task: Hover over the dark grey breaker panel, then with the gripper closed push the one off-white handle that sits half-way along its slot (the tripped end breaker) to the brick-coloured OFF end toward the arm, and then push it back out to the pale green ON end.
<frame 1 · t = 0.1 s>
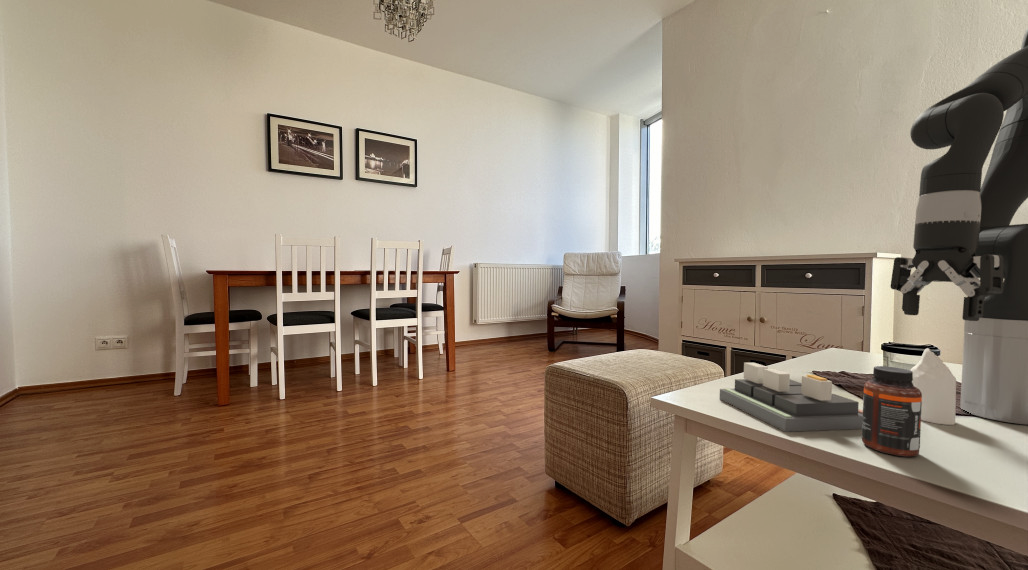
hand: (938, 317, 68), 17 cm above the table, tool pointing down, fingers open, 8 cm apart
white pointed block: (930, 419, 69), on the table
tripped handle: (816, 386, 66), point 6 cm above the table, slide at 3.0 cm
handle on 1: (755, 372, 76), point 6 cm above the table, slide at 6.0 cm
supplement bottle: (889, 450, 57), on the table
panel: (790, 412, 71), on the table
handle on 2: (776, 379, 71), point 6 cm above the table, slide at 6.0 cm
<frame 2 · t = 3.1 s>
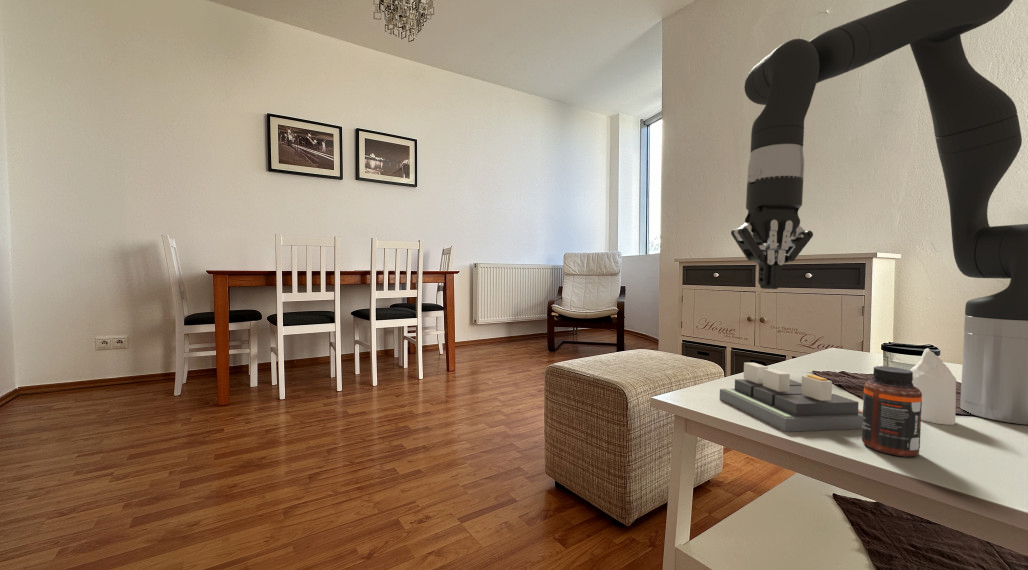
hand: (768, 288, 64), 22 cm above the table, tool pointing down, fingers closed
nothing on the table moved.
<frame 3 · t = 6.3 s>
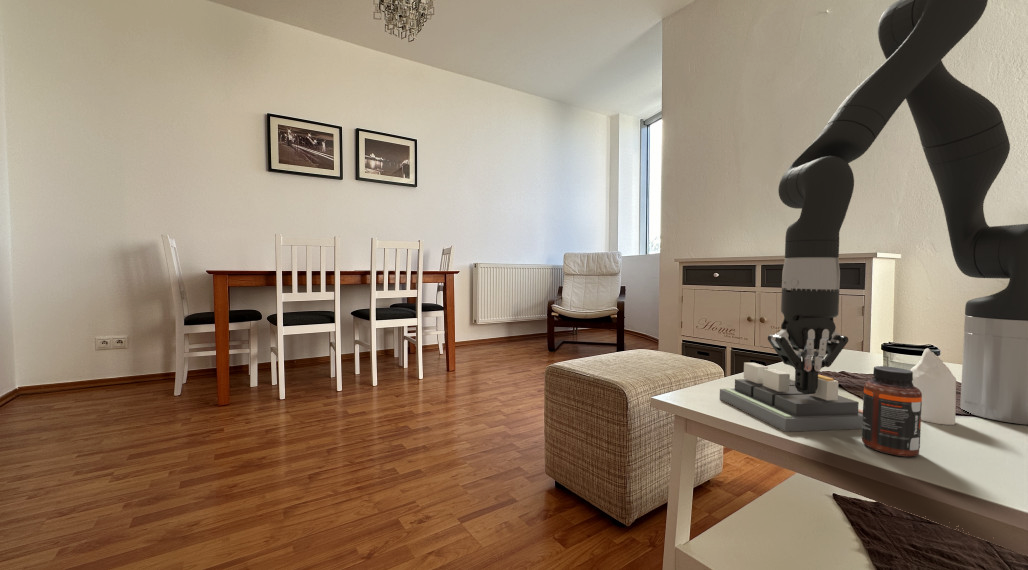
hand: (805, 392, 66), 5 cm above the table, tool pointing down, fingers closed
tripped handle: (822, 386, 66), point 6 cm above the table, slide at 1.8 cm, touching gripper
everything else where it was.
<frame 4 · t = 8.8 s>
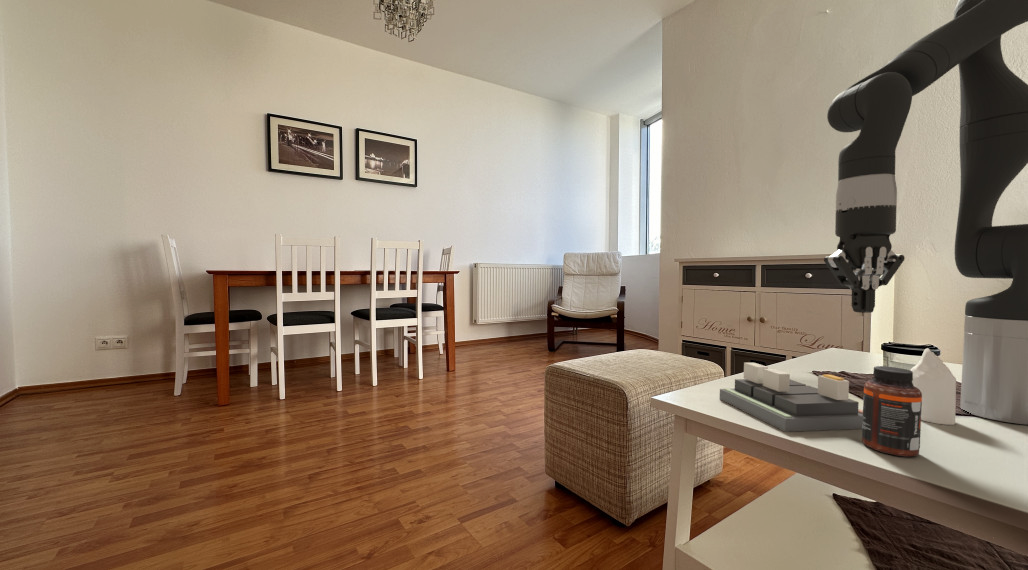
hand: (862, 312, 67), 18 cm above the table, tool pointing down, fingers closed
tripped handle: (832, 386, 66), point 6 cm above the table, slide at 0.0 cm
everything else where it was.
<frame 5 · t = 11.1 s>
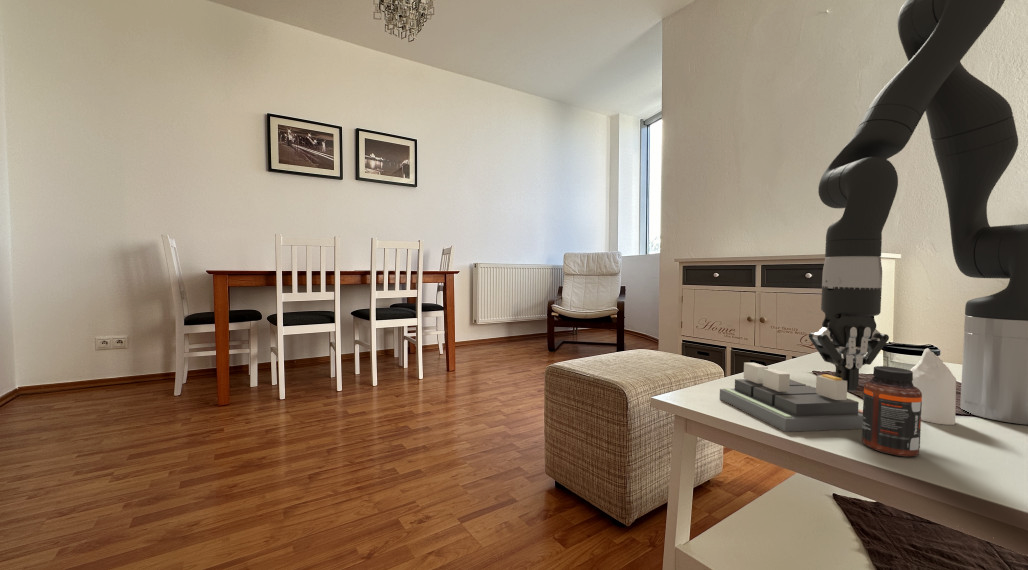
hand: (846, 389, 67), 5 cm above the table, tool pointing down, fingers closed
tripped handle: (831, 386, 66), point 6 cm above the table, slide at 0.3 cm, touching gripper
everything else where it was.
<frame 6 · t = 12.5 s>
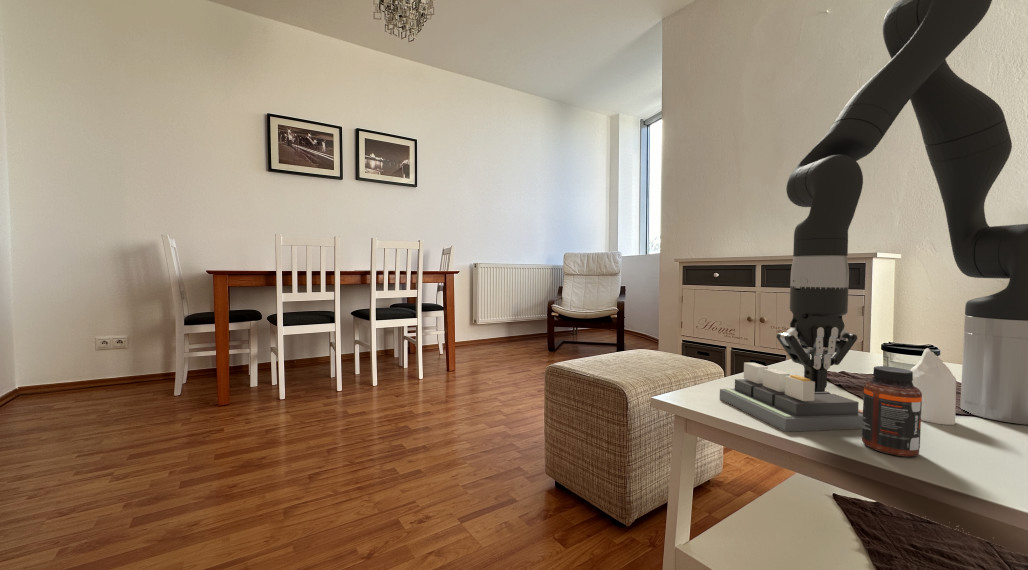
hand: (814, 390, 66), 5 cm above the table, tool pointing down, fingers closed
tripped handle: (799, 387, 66), point 6 cm above the table, slide at 6.0 cm, touching gripper
everything else where it was.
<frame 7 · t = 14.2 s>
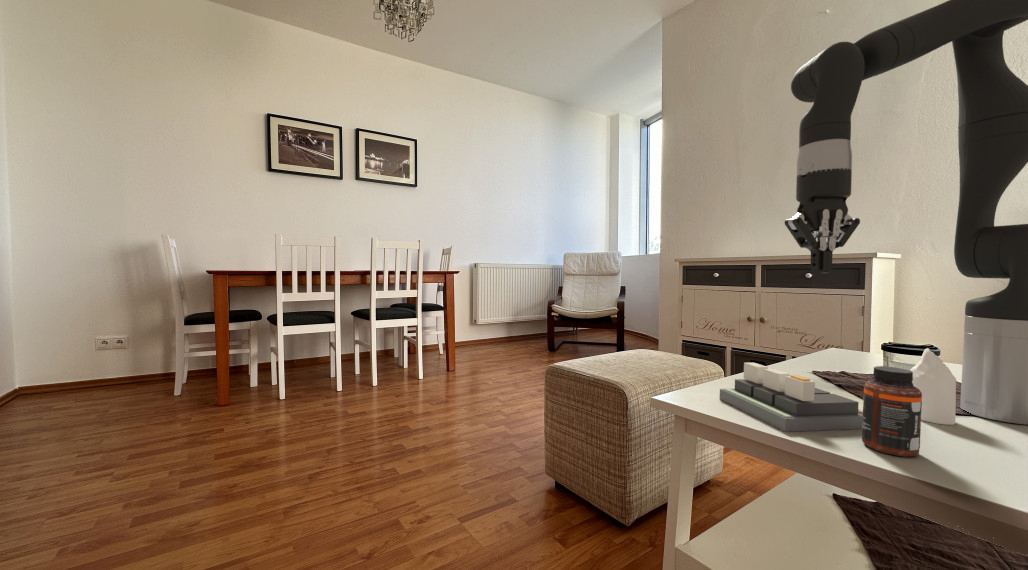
hand: (820, 272, 70), 25 cm above the table, tool pointing down, fingers closed
tripped handle: (799, 387, 66), point 6 cm above the table, slide at 6.0 cm
everything else where it was.
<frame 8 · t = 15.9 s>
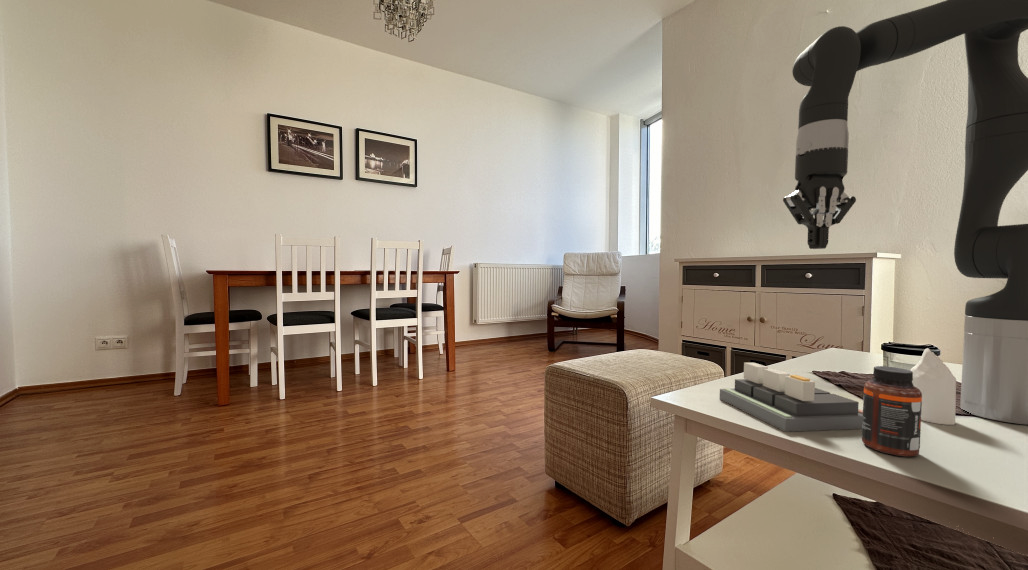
hand: (817, 248, 73), 29 cm above the table, tool pointing down, fingers closed
nothing on the table moved.
at the end: tripped handle slide at 6.0 cm; handle on 2 slide at 6.0 cm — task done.
